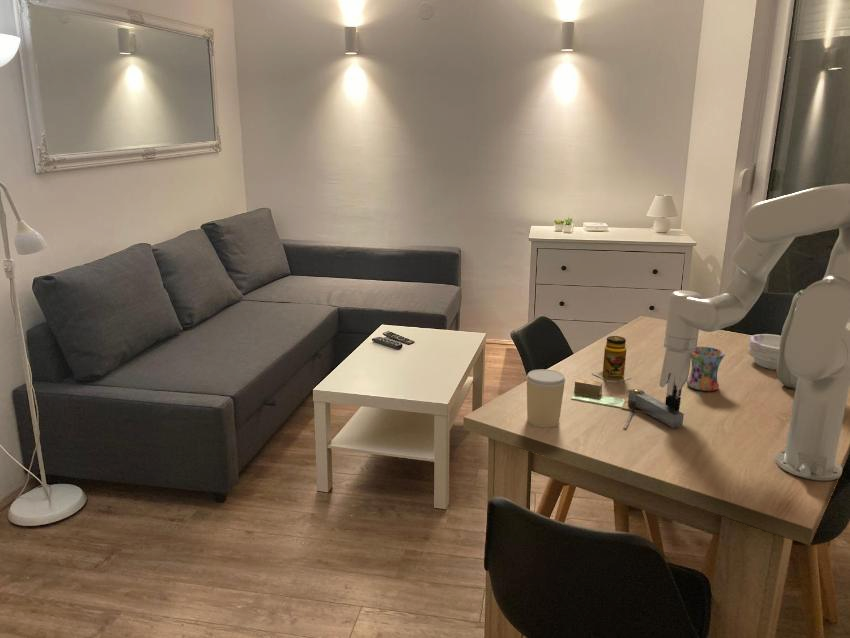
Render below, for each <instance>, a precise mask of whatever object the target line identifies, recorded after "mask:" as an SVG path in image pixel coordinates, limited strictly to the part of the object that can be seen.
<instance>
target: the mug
mask: <svg viewBox="0 0 850 638" xmlns="http://www.w3.org/2000/svg"><path fill="white" fill-rule="evenodd" d="M725 356H726V353H725V352H724V350H723V351H722V350H720V349H719V348H716V347H715V348H714V347H710V346H697V347H696V350H695V351H693V352H692V353H691V369H690V370H691V371H690V373H689V376H688V379H687V381H686V384H687V386H688V387H690V388H692V389H694V390H697V391H702V392H713V391H716V390H718V389H719V388H720V384H719V383H718V370H719V367H720V364H721V362H722V360H723V359H724V357H725Z"/></svg>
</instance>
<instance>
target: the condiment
mask: <svg viewBox="0 0 850 638" xmlns="http://www.w3.org/2000/svg"><path fill="white" fill-rule="evenodd" d="M626 342H627V340H626V338H625V337H622V336H619V335H610V336H607V337H606V343H605V346H604V352H603V353H604V354H603V363H602V364H603V365H602V371H599V372H593V373H592V375H594V376H597V377H598V378H601V379H602V380H605V381H607V382H609V383H618V382H623V381H625V380H629V379H630V377H629V376H626V375H625V370H626V361H627V360H626V359H627V348H626Z"/></svg>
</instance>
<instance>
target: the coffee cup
mask: <svg viewBox="0 0 850 638" xmlns="http://www.w3.org/2000/svg"><path fill="white" fill-rule="evenodd" d="M565 383H566V378H565V374H563V373H562V372H559V371H557V370H554V369H547V368H546V369H542V368H541V369H533V370H530V371H529V372H528V373H527V375H526V411H527V412H526V413H527V414H526V417H527V421H528V423H529V424H530V425H532V426H533V427H534V426H535V427H539V428H553V427H556V426H558V425H559V423H560V417H561V412H562V405H563V397H564V392H565V391H564V390H565Z"/></svg>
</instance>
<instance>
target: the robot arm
mask: <svg viewBox="0 0 850 638" xmlns="http://www.w3.org/2000/svg"><path fill="white" fill-rule="evenodd" d="M742 228H743V232H744V234H745V235H744V237H743V238H742V240H741V241H740V242H739V244H738V245H737V247H736V249H735V250H733V253H732V254H731V262H732V264H733V265H734V266H735V267H736V268H735V273H734V276H732V279H731V280H730V281H729V284H728V285H727V286H726V288H725V289H724V291H723V292H722V293H721V294H719V295H716V296H713V297H708V298H703V296H702V295H701V294H700V293H699V292H696V291H691V290H685V289H684V290H683V289H681V290H675V291H672V292H670V293H671V294H669V299H668V307H667V315H666V322H665V330H664V331H665V332H664V340H663V347H664V348H665V353H664V356H663V357H664V358H663V363H662V368H661V372H660V373H661V375H660V380H659V387H660V388H663V387H665V386H666V385H667V386H666V396H665V402H664V404H666V405H668V406H670V407H672V408H674V409H676V410H678V411H680V409H681V408H680V407H681V400H682V399H681V396H682V391H683V387H684V386H685V385H686V384H687V380H688V379H689V376H690V370H691V363H692V361H691V353H692V352H693V351H695V350H696V347H698V339H699V332H700V331H703V332H707V333H712V332H715V331H720V330H722V329H725V328H727V327H731V326H734V325H736V324H738V323H739V322H741V321H742V319H744V318H745V316H747V314H748V313H749V312H750V310H751V309H753V306H754V305H755V304H756V303H757V302H758V300H759V298H760V296H761V295H762V294H763V291H764V288H765V286H766V283H767V281H768V275H769V273H770V272H771V271H772V269H774V267H775V266H776V264H777V263H778V262H779V260H780V258H781V257H782V255H784V253H785V252H786V250H787V249H788V248H789V247H790V245H791V244H792V243H793V241H794V240H795V238H798V237H802V236H806V235H811V234H816V233H820V232H827V231H833V230H837V229H838V231H839V233H838V234H839V235H838V237H837V239H836V241H835V243H834V246H833V248H832V250H831V252H830V255H829V256H830V257H829V261H828V264H827V268H826V271H825V273H824V276H823V278H822V279H821V280H817V281H815V282H813V283H812V284H810V285H808V286H807V287H806V288H805V290H804V289H803V290H804V291H803V293H802V294H801V296H800V298H799V300H798V302H797V304H796V308H795V311H794V315H793V319H792V323H791V326H790V330H789V334H788V337H787V341H786V345H785V351H784V358H785V362H786V365H787V367H788V369H789V370H790V372H791V373H792V374H793V375H795V376H796V377H798V380H797V385H796V389H795V391H794V396H793V397H794V398H793V401H792V408H791V415H790V419H789V420H790V421H789V427H788V432H787V439H786V444H785V449H783V450H781V451H779V452H777V453H776V455H775V462H776V464H777V465H778V467H779V468H781V469H782V470H784V471H786V472H787V473H789V474H791V475H794V476H797V477H799V478H803V479H807V480H812V481H822V482H823V481H824V482H825V481H827V482H828V481H833V480H837V479H839V478H840V477H841V476H842V473H843V468H842V466H841V465H840V463H839V462H837V461H836V460H837V459H836V458H837V452H838V447H839V443H840V438H841V432H842V427H843V420H844V416H845V413H846V406H847V403H848V397H849V391H850V329H848V328H847V326H848V324H849V323H850V183H836V184H830V185H828V184H827V185H821V186H816V187H812V188H809V189H805V190H801V191H797V192H794V193H790V194H787V195H782V196H779V197H776V198H771V199H767V200H763V201H759V202H757V203H755V204H754V205H752V206H751V207H750V208H749V209H748V210H747V211H746V213H745V215H744V217H743V219H742ZM699 330H700V331H699Z"/></svg>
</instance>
